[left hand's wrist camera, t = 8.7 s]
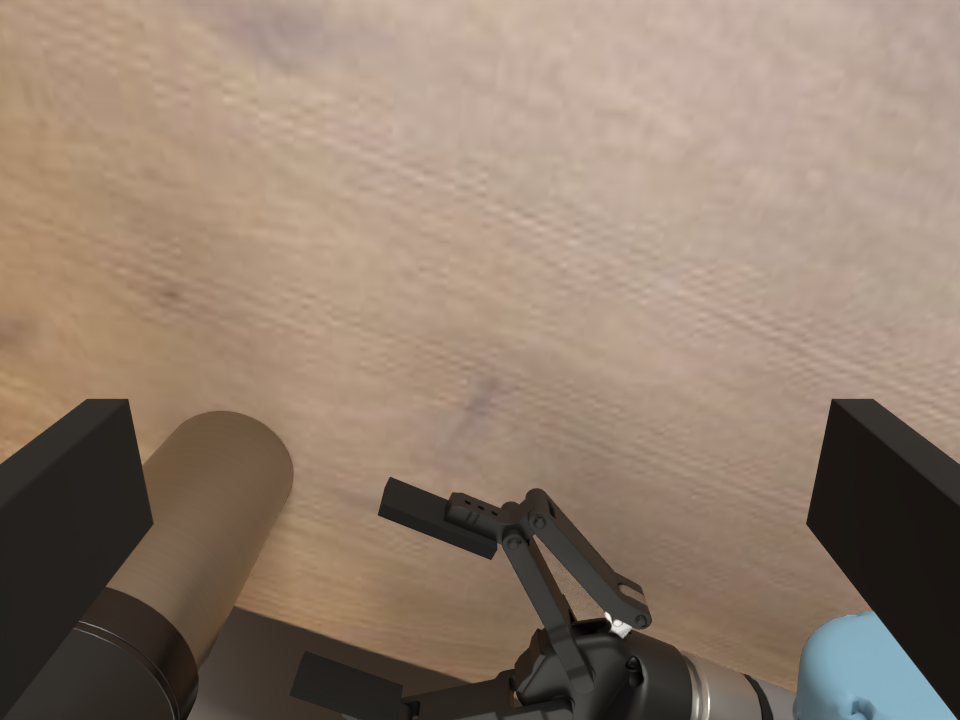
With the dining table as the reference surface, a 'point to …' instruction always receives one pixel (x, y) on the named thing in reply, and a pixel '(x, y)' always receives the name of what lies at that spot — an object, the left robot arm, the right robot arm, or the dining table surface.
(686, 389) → the dining table surface
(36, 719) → the lid
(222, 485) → the jar
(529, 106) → the dining table surface
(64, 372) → the dining table surface
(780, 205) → the dining table surface
